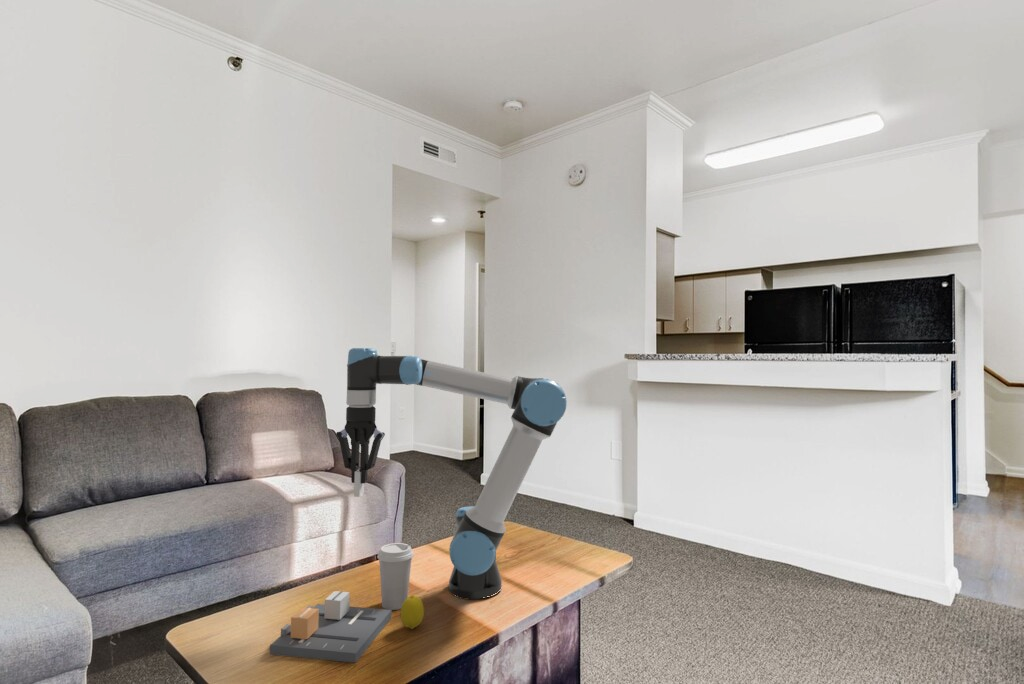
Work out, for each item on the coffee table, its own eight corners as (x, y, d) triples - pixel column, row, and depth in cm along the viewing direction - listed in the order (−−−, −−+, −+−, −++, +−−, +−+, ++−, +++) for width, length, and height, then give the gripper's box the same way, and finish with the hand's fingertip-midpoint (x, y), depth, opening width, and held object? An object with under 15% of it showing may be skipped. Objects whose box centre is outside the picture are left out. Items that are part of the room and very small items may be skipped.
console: (391, 618, 138) (391, 604, 138) (355, 662, 118) (356, 646, 118) (317, 611, 141) (317, 598, 141) (269, 654, 121) (269, 638, 121)
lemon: (401, 623, 135) (402, 591, 136) (424, 623, 136) (425, 590, 136) (399, 634, 130) (399, 600, 130) (422, 634, 130) (423, 600, 131)
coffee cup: (412, 611, 142) (413, 553, 143) (374, 613, 141) (376, 554, 141) (412, 596, 152) (414, 541, 152) (377, 598, 150) (378, 542, 151)
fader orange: (318, 628, 128) (318, 608, 128) (307, 639, 123) (307, 617, 123) (302, 627, 128) (302, 606, 128) (290, 637, 123) (291, 616, 123)
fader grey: (349, 610, 137) (349, 591, 137) (339, 619, 132) (340, 599, 132) (334, 609, 138) (334, 590, 138) (324, 618, 133) (324, 598, 133)
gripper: (389, 405, 148) (387, 493, 147) (344, 404, 150) (342, 491, 149) (378, 407, 141) (376, 500, 140) (331, 406, 143) (329, 497, 142)
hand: (358, 495), depth 145 cm, fingers closed
